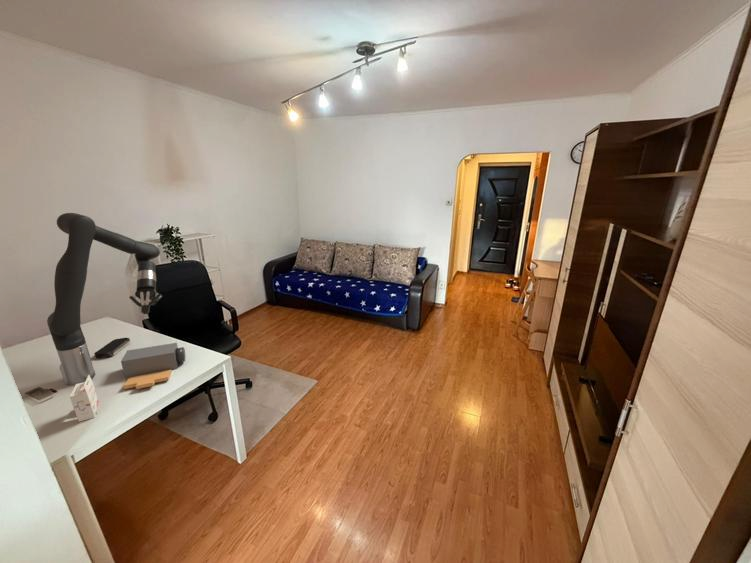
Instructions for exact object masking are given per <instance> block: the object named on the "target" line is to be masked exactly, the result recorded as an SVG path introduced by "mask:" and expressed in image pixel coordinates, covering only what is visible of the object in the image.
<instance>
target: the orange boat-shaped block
mask: <svg viewBox="0 0 751 563" xmlns="http://www.w3.org/2000/svg"><path fill="white" fill-rule="evenodd" d="M172 371H173V370H172V369H171V370H166V371H161V372H156V373H150V374H145V375H140V376H134V377H130V378H127V381H125V383H124V384H123V388H122V389H123V390H126V389H131V388H135V390H139V389H144V388H149V387H153V386H155V384H156V383H161V382H166V381H169V380H170V377H171V375H172Z"/></svg>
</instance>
